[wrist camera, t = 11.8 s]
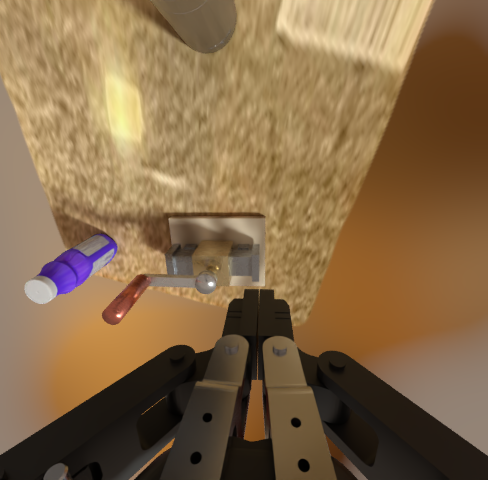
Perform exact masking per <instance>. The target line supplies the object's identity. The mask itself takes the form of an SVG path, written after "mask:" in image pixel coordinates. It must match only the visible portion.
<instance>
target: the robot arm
mask: <svg viewBox="0 0 488 480" xmlns="http://www.w3.org/2000/svg"><path fill="white" fill-rule="evenodd" d="M150 1H151V2H152V3H153V5H154V6H155V7H156V8H157V9H158V11H159V12H160V13H161V14H162V15H163V17H164V18H165V19H166V20H167V21H168V23H169V24H170V25H171V26H172V27H173V28H174V30H175V31H176V32H177V33H178V35H179V36H180V37H181V38H182V39H183V41H184V42H185V43H186V44H187V45H188V46H189V47H191V48H192V49H193V50H195V51H198V52H201V53H212V52H215V51H218V50H219V49H221V48H223V47H224V46H225V45H226V44H227V43H228V41H229V40H230V38H231V37H232V34H233V32H234V29H235V25H236V7H235V2H234V0H150ZM257 356H258V357H257ZM257 358H258V380H263V411H264V426H265V439H264V440H259V441H254V442H250V441H247V440H244V434H245V427H246V420H247V413H248V406H249V399H250V390H251V382H252V380H257ZM163 397H164V398H163ZM162 398H163V399H162ZM160 399H162V400H161V401H159V400H160ZM158 401H159V402H158ZM157 402H158V403H157ZM156 403H157V404H156ZM154 404H155V405H154ZM153 405H154V406H153ZM152 406H153V407H152ZM150 407H151V408H150ZM149 408H150V409H149ZM148 409H149V410H148ZM146 410H148V411H146ZM145 411H146V412H145ZM144 412H145V413H144ZM143 413H144V414H143ZM324 433H325V434H326V435H327V436H328V438H329V439H330V440H331V441H332V442H333V443H334V444H335V445H336V446H337V447H338V448H339V449H340V450H341V451H342V452H343V453H344V455H346V457H347V458H348V459H349V460H350V461H351V462H352V463H353V464H354V465H355V466H356V467H357V468H358V469H359V470H360V472H361V473H362V474H363V475H364V476H365V477H366V478H367V479H368V480H488V456H487V455H486V454H484V453H483V452H481V451H480V450H479V449H477V448H476V447H474V446H473V445H472V444H470V443H469V442H468V441H466V440H465V439H463V438H462V437H461V436H459V435H458V434H456V433H455V432H454V431H452V430H451V429H449V428H448V427H447V426H445V425H444V424H442V423H441V422H440V421H438V420H437V419H435V418H434V417H433V416H431V415H430V414H428V413H427V412H426V411H424V410H423V409H422V408H420V407H419V406H417V405H416V404H415V403H413V402H412V401H410V400H409V399H408V398H406V397H405V396H403V395H402V394H401V393H399V392H398V391H396V390H395V389H393V388H392V387H391V386H390V385H388V384H387V383H385V382H384V381H383V380H381V379H380V378H378V377H377V376H376V375H374V374H373V373H371V372H370V371H368V370H367V369H366V368H364V367H363V366H362V365H360V364H359V363H357V362H356V361H355V360H353V359H352V358H350V357H349V356H348V355H346V354H344V353H341V352H338V351H326V352H324V353H322V354H321V355H320V356H319V358H318V357H315V356H311V355H308V354H306V353H304V352H302V351H301V350H300V349H299V348H298V347H297V346H296V344H295V343H294V337H293V330H292V323H291V316H290V309H289V305H288V304H287V303H286V301H285V300H282V299H274V290H268V289H260V296H259V289H245V290H244V298H243V299H233V301H232V302H231V303H230V304H229V307H228V312H227V316H226V320H225V325H224V329H223V334H222V338H220V339H219V340H218V341H217V342H216V344H215V347H214V348H212V349H210V350H208V351H204V352H200V353H195V351H194V350H193V348H191V347H189V346H187V345H176V346H173V347H170V348H168V349H167V350H165V351H164V352H162V353H160V354H159V355H157V356H156V357H154V358H153V359H151V360H149V361H148V362H146V363H145V364H143V365H142V366H140V367H138V368H137V369H136V370H134V371H132V372H131V373H129V374H127V375H126V376H124V377H123V378H121V379H120V380H118V381H116V382H115V383H113V384H112V385H110V386H109V387H107V388H105V389H104V390H102V391H101V392H99V393H97V394H96V395H94V396H93V397H91V398H90V399H88V400H86V401H85V402H83V403H82V404H80V405H79V406H77V407H75V408H74V409H72V410H71V411H69V412H68V413H66V414H64V415H63V416H61V417H60V418H58V419H57V420H55V421H54V422H52V423H50V424H49V425H47V426H46V427H44V428H42V429H41V430H39V431H38V432H36V433H35V434H33V435H31V436H30V437H28V438H27V439H25V440H24V441H22V442H21V443H19V444H17V445H16V446H14V447H13V448H11V449H9V450H8V451H6V452H5V453H3V454H1V455H0V480H129V479H130V478H131V477H132V476H133V475H134V474H135V473H136V472H137V471H139V470H140V468H142V467H143V466H144V465H145V464H146V463H147V462H148V461H149V460H151V459H152V458H153V457H154V456H155V455H156V454H157V453H158V452H159V451H160V450H161V449H162V448H164V447H165V446H166V445H167V444H168V443H169V442H170V441H171V440H172V439H174V438H175V440H174V442H173V445H172V447H171V448H170V449H168V450H167V451H165V452H163V454H161V455H160V456H158V457H157V458H156V459H155V460H154V461H153V462H152V463H151V464H150V465H149V466H148V467H147V468H146V469H145V470H143V471H142V472H141V473H140V474H139V475H138V476H137V477H136V479H134V480H358V479H357V478H356V477H355V476H354V475H353V474H352V473H351V472H350V471H349V470H348V469H347V468H346V467H345V466H344V465H343V464H342V463H340V462H339V461H338V460H337V459H335V458H334V457H332V456H330V452H329V449H328V445H327V441H326V438H325V434H324Z"/></svg>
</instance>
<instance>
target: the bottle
mask: <svg viewBox="0 0 488 480" xmlns="http://www.w3.org/2000/svg"><path fill="white" fill-rule="evenodd" d="M116 252H117V244H116V243H115V242H114V240H112V239H111V238H110V237H109V236H107V235H105V234H96V235H94V236H92V237H91V238H89V239H87V240H85V241H84V242H82V243H80V244H78V245H76V246H75V247H73V248H71V249H69V250H67V251H65V252H64V253H62V254H61V255H60V256H58V257H57V258H56V259H55V260H54V261H52V262H49V263H47V264H46V265H45V266H44V267H43V268H42V270H41V272H40V274H39V275H37V276H36V277H34V278H32V279H31V280H29V281H28V282H27V283H26V284H25V293H26V295H27V296H28V297H29V298H30V299H31V300H32V301H34V302H36V303H40V304H42V303H43V304H44V303H47V302H49V301H50V300H52V299H53V298H55V297H56V296H57V295H59V294H66V293H68V292H71V291H72V290H73V289H74V288H75V287H77V286H79V285H81V284H82V283H83V282H84V281H85V280H86V279H88V278H89V277H90V276H92V275H93V274H94V273H96V272H97V271H98V270H99V269H101V268H102V267H103V266H105V265H107V264H108V263H109V262H110V261H111V260H112V258H113V257H114V256H115V254H116Z"/></svg>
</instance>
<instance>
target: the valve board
mask: <svg viewBox="0 0 488 480" xmlns="http://www.w3.org/2000/svg"><path fill="white" fill-rule="evenodd" d="M169 227H170V235H171V243H172V246H173V244H181V249H184V247H185V245H186V244H197V247H198V245H199V244H200V242H201V240H226V241H233V249H238V244H249V249H253V244H260V272H259V282H252V276H232V278H231V282H230V286H265V216H171V217H170V218H169Z"/></svg>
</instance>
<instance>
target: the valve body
mask: <svg viewBox="0 0 488 480" xmlns="http://www.w3.org/2000/svg"><path fill="white" fill-rule="evenodd" d="M165 258H166V266H167V273H168V274H169V275H199V273H200V272H201V271H204V270H210V271H212V272H214V273H215V274H216V275H217V278H218V281H217V285H216V286H230V282H231V278H232V276H252V282H259V272H260V244H253V249H249V244H238V249H233V241H226V240H201V242H200V244H199V245H198V247H197V244H186V245H185V247H184V249H181V244H173V246H172V247H171V248H170V249H169V250H168V251H167V252H166V254H165Z"/></svg>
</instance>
